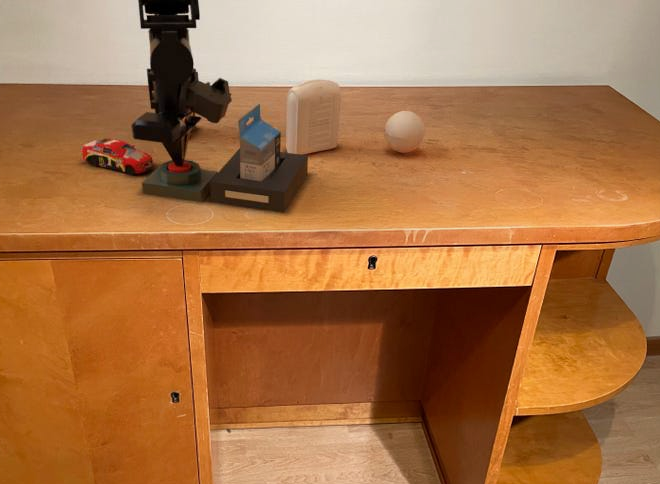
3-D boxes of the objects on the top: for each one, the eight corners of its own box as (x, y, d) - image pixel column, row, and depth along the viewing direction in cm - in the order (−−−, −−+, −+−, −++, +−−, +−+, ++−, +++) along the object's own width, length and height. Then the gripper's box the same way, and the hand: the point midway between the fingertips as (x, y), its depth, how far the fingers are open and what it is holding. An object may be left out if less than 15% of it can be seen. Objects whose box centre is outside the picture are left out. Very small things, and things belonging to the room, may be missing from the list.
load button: (165, 178, 113) (164, 168, 112) (174, 170, 116) (173, 159, 115) (186, 181, 113) (185, 171, 112) (194, 172, 116) (194, 162, 114)
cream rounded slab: (327, 140, 134) (331, 73, 127) (341, 148, 131) (345, 79, 124) (282, 150, 130) (282, 81, 122) (294, 158, 127) (296, 88, 119)
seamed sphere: (413, 142, 135) (418, 104, 130) (427, 157, 129) (433, 117, 125) (363, 145, 133) (367, 106, 128) (375, 161, 127) (379, 120, 123)
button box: (142, 193, 114) (140, 173, 111) (162, 174, 120) (160, 154, 118) (201, 202, 112) (200, 181, 110) (218, 182, 118) (217, 162, 116)
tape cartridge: (262, 200, 113) (261, 124, 105) (239, 196, 114) (237, 120, 106) (281, 179, 120) (281, 106, 112) (259, 175, 120) (259, 102, 113)
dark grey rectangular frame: (210, 202, 112) (209, 182, 110) (241, 166, 124) (240, 146, 121) (283, 213, 110) (283, 192, 107) (307, 174, 121) (308, 155, 119)
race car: (160, 168, 122) (158, 145, 119) (141, 179, 118) (138, 156, 115) (99, 152, 126) (96, 130, 124) (79, 162, 122) (75, 140, 120)
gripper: (200, 88, 95) (206, 196, 105) (243, 53, 110) (245, 150, 119) (124, 80, 97) (137, 186, 107) (176, 46, 112) (183, 142, 121)
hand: (179, 165), depth 113 cm, fingers closed, pressing on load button
